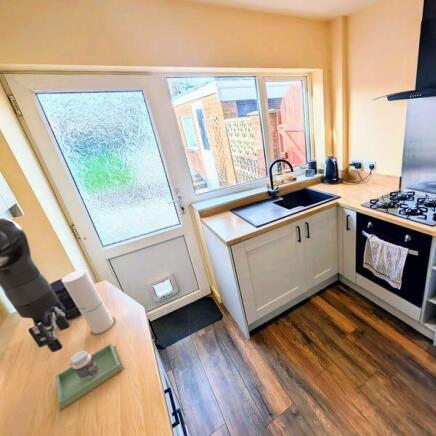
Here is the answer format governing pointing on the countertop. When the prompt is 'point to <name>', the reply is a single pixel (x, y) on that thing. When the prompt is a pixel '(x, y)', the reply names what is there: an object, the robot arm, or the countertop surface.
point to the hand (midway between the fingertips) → (61, 338)
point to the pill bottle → (84, 365)
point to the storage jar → (65, 300)
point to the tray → (75, 388)
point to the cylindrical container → (88, 301)
